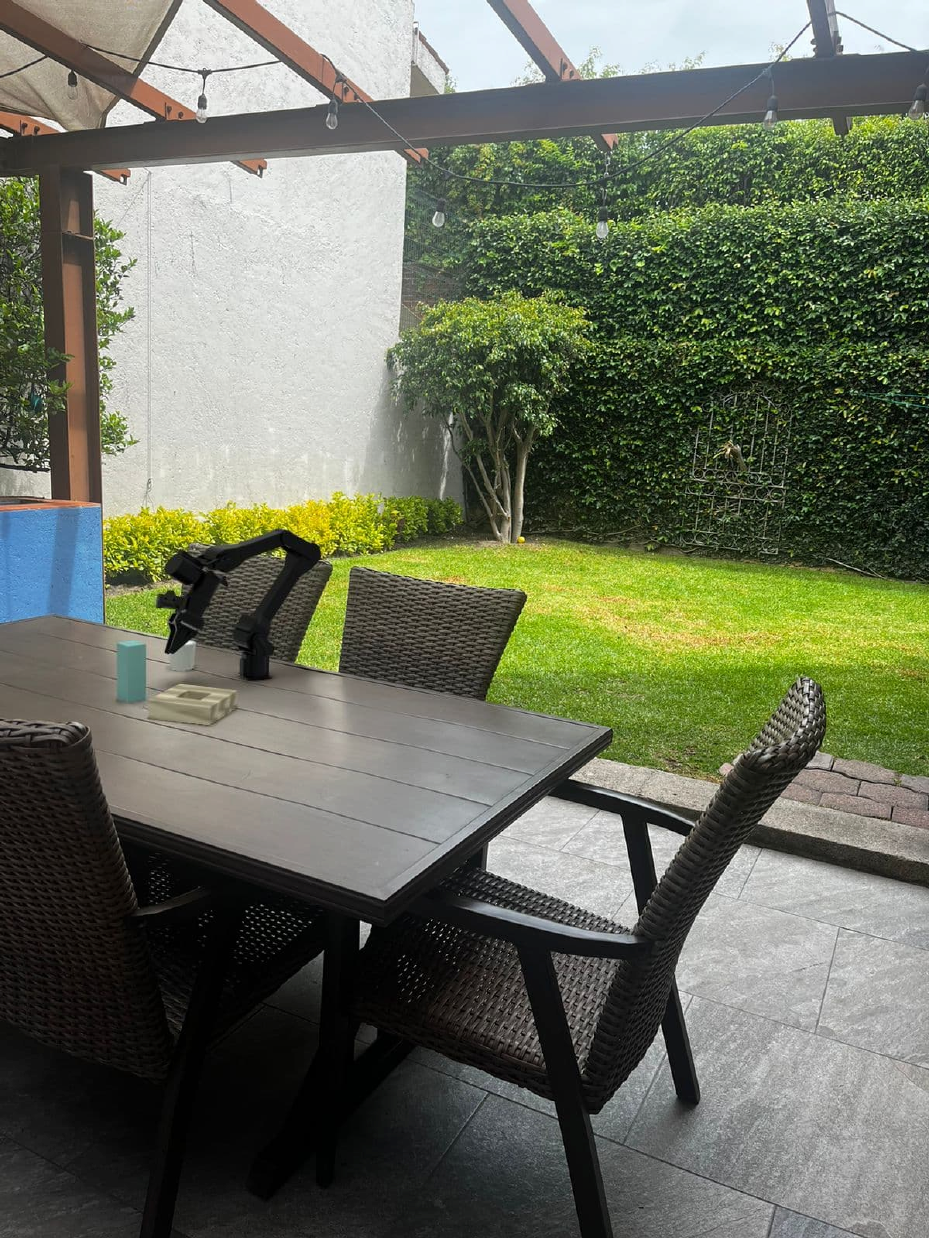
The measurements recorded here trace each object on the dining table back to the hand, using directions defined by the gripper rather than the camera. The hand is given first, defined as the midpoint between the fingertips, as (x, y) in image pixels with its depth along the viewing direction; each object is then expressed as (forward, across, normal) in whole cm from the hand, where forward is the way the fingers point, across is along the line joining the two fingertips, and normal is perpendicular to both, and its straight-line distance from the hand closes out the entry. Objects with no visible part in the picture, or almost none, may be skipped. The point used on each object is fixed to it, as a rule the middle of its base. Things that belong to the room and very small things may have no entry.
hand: (168, 653), depth 213 cm
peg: (+13, +3, -3) cm, 13 cm away
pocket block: (+10, +15, +9) cm, 20 cm away
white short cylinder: (+1, -22, +7) cm, 23 cm away
